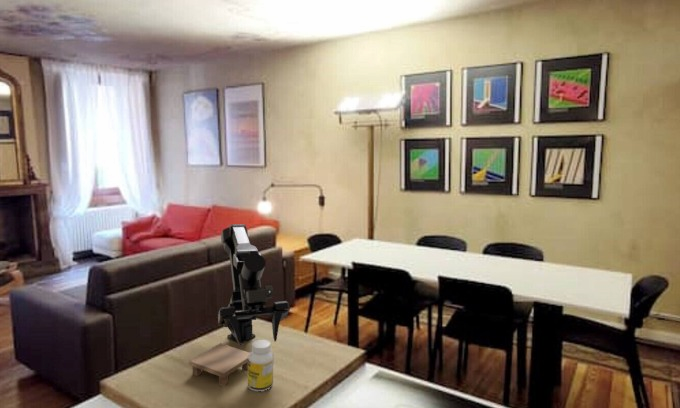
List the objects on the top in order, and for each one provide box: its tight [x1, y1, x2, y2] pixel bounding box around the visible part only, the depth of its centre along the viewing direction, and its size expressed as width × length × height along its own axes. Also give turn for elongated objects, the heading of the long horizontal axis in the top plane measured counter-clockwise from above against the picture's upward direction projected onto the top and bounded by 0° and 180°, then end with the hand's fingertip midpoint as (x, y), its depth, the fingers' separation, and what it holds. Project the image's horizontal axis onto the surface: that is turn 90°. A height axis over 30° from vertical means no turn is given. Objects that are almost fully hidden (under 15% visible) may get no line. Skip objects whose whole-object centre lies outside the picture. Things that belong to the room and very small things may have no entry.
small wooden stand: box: [188, 342, 250, 387], centre depth 122 cm, size 12×12×4 cm
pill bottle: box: [247, 339, 275, 392], centre depth 115 cm, size 6×6×12 cm
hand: (258, 343), depth 118 cm, fingers open, 9 cm apart
